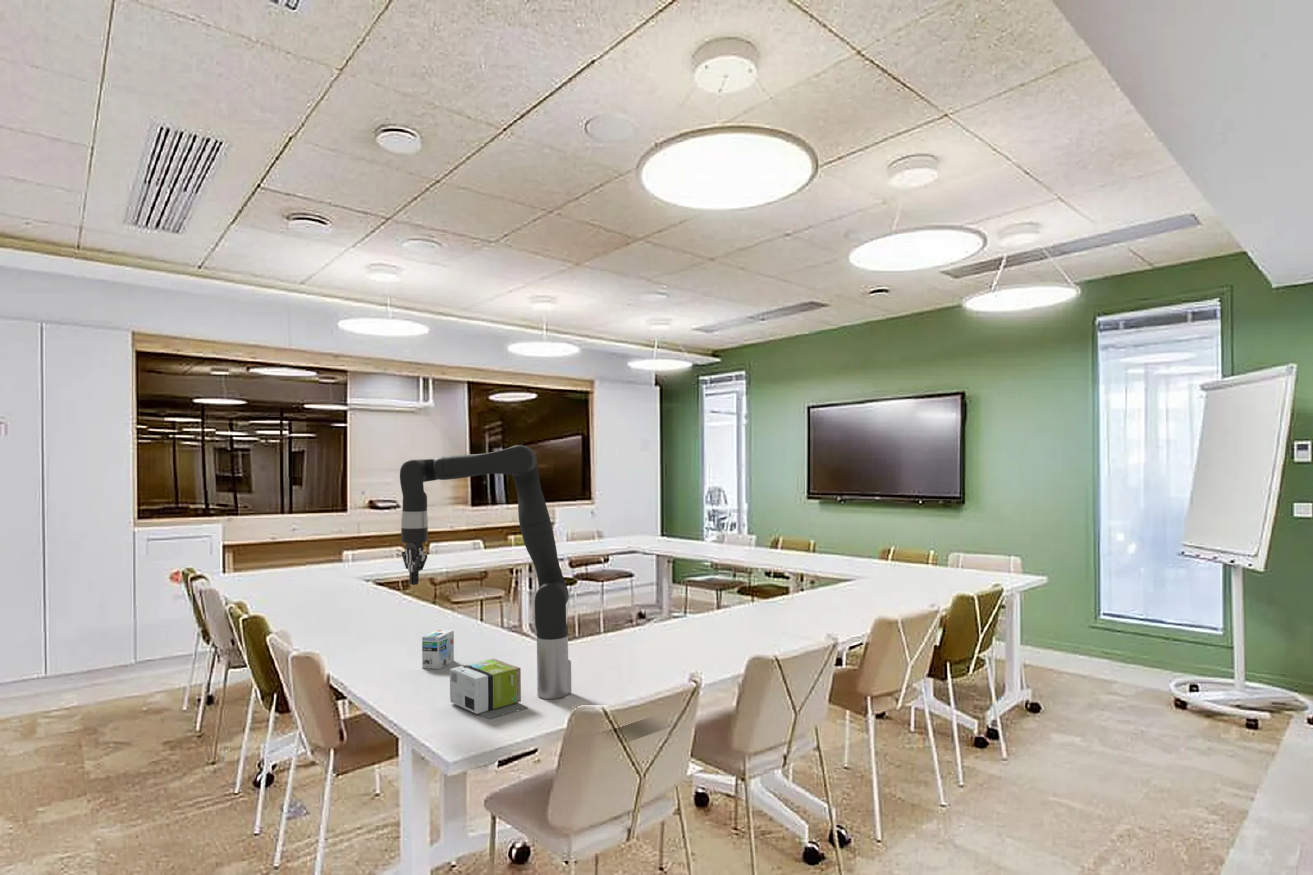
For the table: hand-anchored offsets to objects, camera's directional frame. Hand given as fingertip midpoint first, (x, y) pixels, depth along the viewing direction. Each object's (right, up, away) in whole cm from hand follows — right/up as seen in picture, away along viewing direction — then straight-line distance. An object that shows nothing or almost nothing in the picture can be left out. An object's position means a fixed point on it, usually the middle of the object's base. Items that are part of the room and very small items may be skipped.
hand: (413, 584), depth 216 cm
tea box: (+18, -27, -14) cm, 35 cm away
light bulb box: (-3, -35, +33) cm, 48 cm away
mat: (+24, -33, -9) cm, 42 cm away
